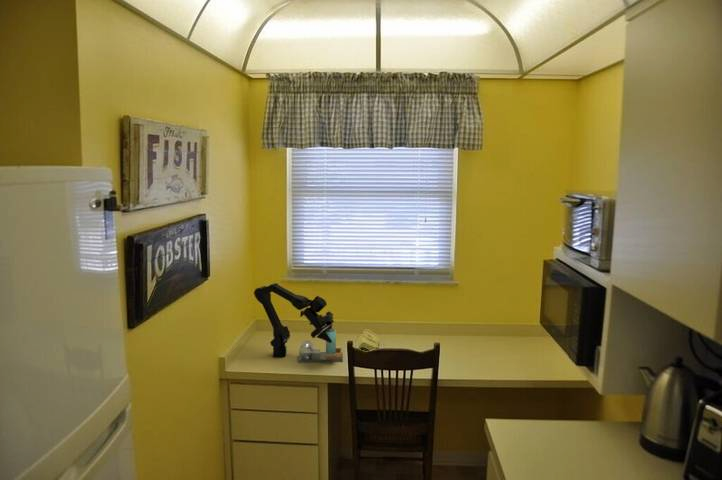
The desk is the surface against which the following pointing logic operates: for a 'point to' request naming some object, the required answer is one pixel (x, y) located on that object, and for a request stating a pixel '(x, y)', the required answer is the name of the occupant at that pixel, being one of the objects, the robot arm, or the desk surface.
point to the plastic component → (368, 340)
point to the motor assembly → (317, 354)
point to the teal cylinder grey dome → (331, 346)
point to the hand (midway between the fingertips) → (333, 340)
